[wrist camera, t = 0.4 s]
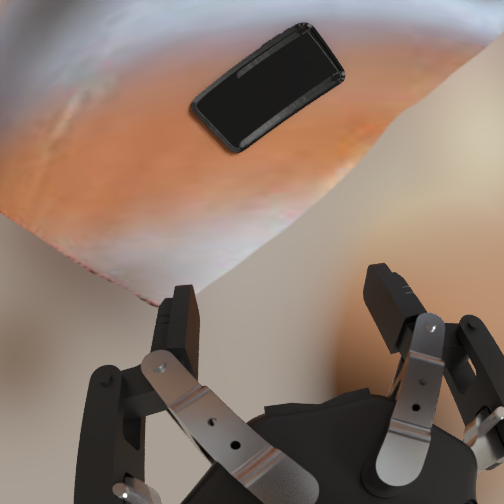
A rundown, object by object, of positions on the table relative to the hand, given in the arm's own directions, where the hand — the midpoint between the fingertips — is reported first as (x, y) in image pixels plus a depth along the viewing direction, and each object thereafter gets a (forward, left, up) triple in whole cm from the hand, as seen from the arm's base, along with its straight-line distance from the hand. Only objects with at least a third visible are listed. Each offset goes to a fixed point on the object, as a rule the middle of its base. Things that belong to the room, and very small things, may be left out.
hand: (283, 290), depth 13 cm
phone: (-6, +1, -23) cm, 24 cm away
